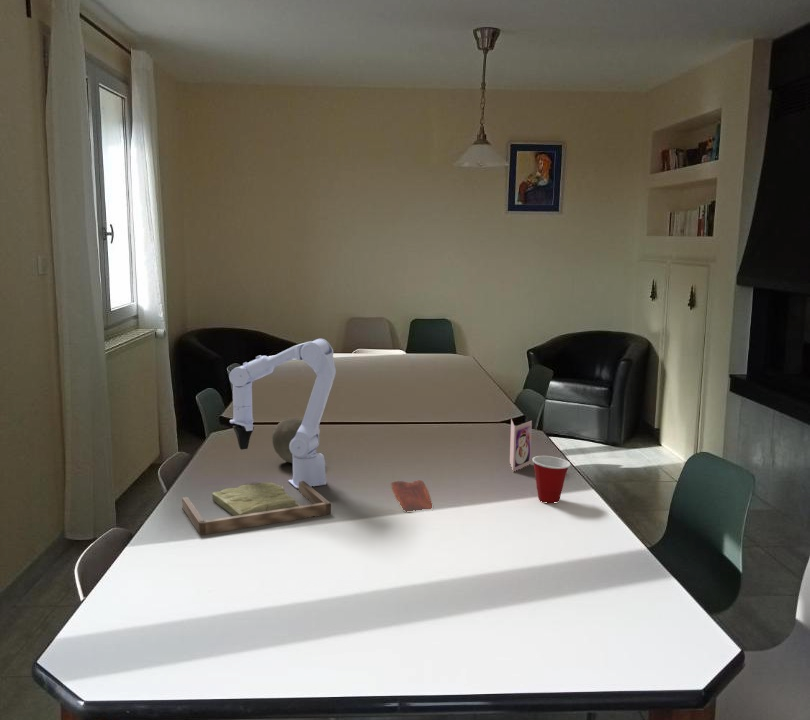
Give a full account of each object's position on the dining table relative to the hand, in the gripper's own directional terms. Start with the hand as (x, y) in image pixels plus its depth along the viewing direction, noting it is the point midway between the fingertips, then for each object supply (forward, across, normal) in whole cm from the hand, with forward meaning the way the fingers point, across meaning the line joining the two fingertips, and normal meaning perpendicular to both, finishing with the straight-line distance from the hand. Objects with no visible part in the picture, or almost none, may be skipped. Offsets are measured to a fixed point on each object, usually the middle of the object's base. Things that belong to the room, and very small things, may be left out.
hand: (243, 448), depth 239 cm
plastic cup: (+10, +57, +73) cm, 93 cm away
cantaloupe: (+10, -9, +19) cm, 23 cm away
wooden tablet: (+10, +37, +39) cm, 55 cm away
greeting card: (+10, +25, +83) cm, 87 cm away
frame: (+9, +30, -5) cm, 32 cm away
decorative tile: (+10, +24, -3) cm, 26 cm away
